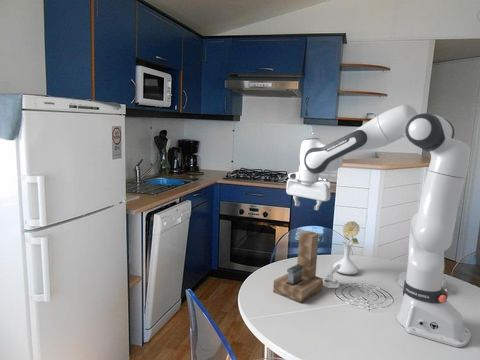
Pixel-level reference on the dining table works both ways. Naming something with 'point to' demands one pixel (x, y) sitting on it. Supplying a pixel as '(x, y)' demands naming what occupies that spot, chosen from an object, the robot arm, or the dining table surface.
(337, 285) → the white ring with bar
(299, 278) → the grey rectangular block
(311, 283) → the wooden l-shaped post
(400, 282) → the food container
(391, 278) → the dining table surface
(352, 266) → the flower in vase
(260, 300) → the dining table surface
